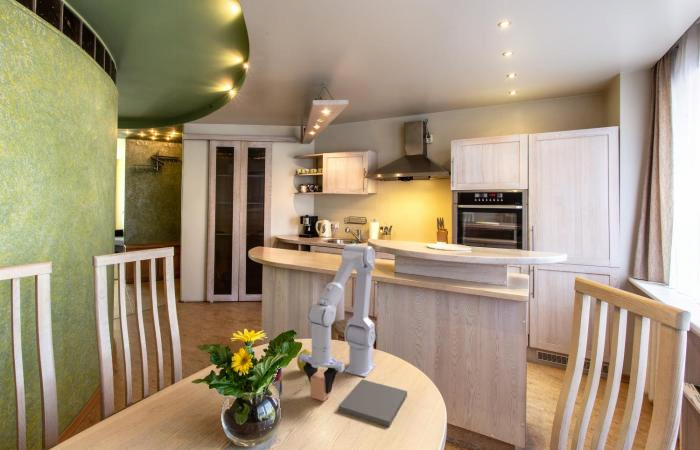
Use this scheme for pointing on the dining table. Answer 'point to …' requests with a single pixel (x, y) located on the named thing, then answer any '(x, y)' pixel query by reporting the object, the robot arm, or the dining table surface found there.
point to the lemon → (302, 364)
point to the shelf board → (374, 402)
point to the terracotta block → (319, 386)
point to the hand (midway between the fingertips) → (321, 389)
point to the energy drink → (278, 381)
